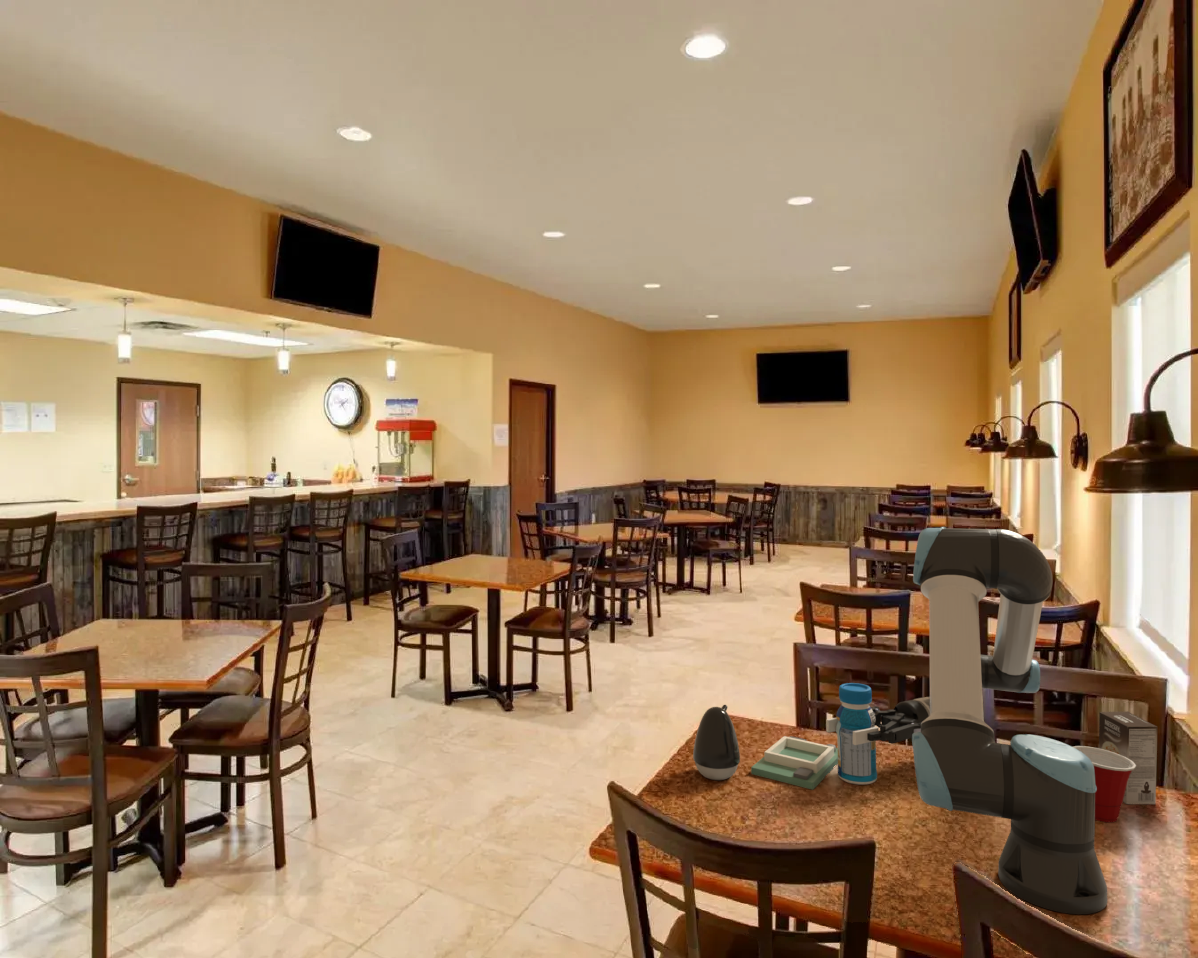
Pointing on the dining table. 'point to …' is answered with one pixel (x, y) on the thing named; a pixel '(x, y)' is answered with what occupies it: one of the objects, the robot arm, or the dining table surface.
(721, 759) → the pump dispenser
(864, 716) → the beverage bottle
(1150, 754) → the coffee box
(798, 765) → the board
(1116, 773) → the plastic cup
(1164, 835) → the dining table surface
